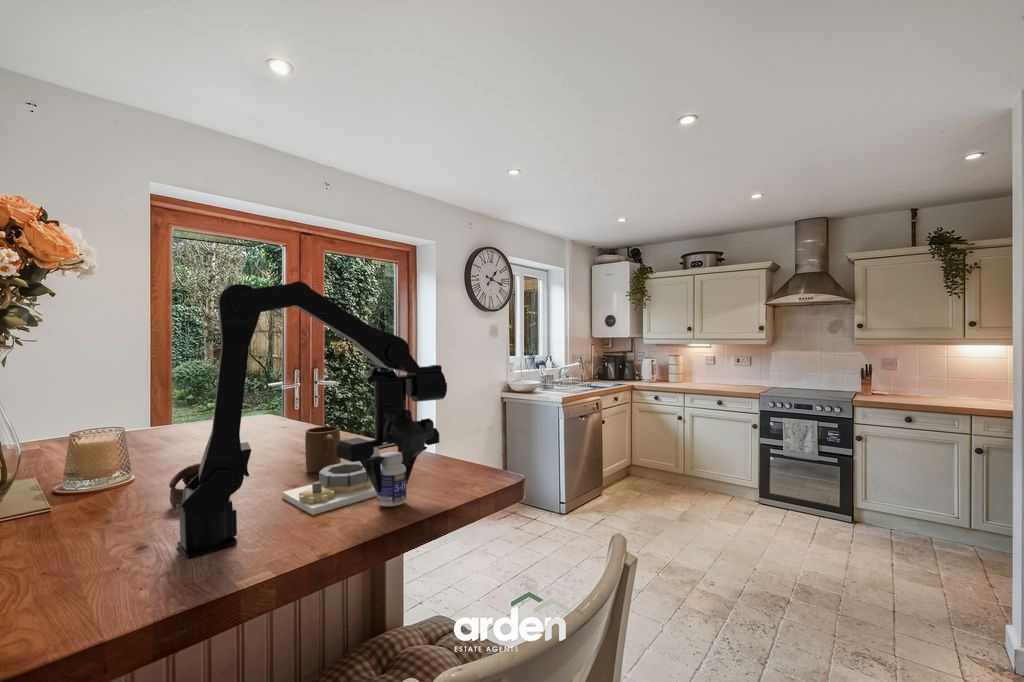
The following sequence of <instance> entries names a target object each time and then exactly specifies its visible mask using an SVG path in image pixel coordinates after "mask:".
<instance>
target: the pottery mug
mask: <svg viewBox="0 0 1024 682" xmlns="http://www.w3.org/2000/svg"><path fill="white" fill-rule="evenodd" d="M200 464H201V462H200V463H195V464H192V465H188V466H187V467H185V468H183V469H181V470H180V471H179V472H177V473H176V474H175V475H174V476H173V477H172V478H171V479H170V482H169V484H168V485H169V486H168V487H169V488H170V491H169V494H170V495H169V502H170V505H171V507H172V508H173V509H174V510H175V509H177V505H182V500H183V489H184V488H176V487H177V485H178V484H179V482H180V481H182V482H183V484H184V485H185V486H186V485H187V484H188V483H189V482H190V481H191V480H192V479H193V478H194V477H195V476H196V475H197V474H198V473H199V467H200Z"/></svg>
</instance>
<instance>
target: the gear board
mask: <svg viewBox="0 0 1024 682" xmlns="http://www.w3.org/2000/svg"><path fill="white" fill-rule="evenodd" d="M375 497H377V492H376V491H375V489H374V487H373V485H372V482H371V480H370V478H369V476H368V474H367V472H366V470H365V468H364V467H363V465H362V464H361V462H360V461H357V462H350V461H347V462H346V461H345V462H341V463H339V464H335V465H331V466H327V467H324V468H323V469H322V470H321V471H320V472H319V473H318V481H314V482H312V484H308V485H305V486H300V487H296V488H292V489H288V490H286V491H281V499H283V500H285V501H287V502H289V503H290V504H292V505H294V506H296V507H297V508H298V509H301V510H303V511H305V512H306V513H307V514H310V515H312V516H315V515H317V514H321V513H325V512H328V511H331V510H334V509H337V508H342V507H345V506H348V505H351V504H355V503H358V502H362V501H364V500H369V499H371V498H375Z"/></svg>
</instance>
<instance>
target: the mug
mask: <svg viewBox="0 0 1024 682" xmlns="http://www.w3.org/2000/svg"><path fill="white" fill-rule="evenodd" d="M340 433H341V431H340V427H338V426H317V427H313V428H309V429H307V430H305V439H304V441H305V469H306V471H307V473H310V474H319V472H320V471H321V470H322V469H323V468H324V467H327V466H331V465H335V464H339V463H342V462H341V461H342V460H341V459H342V458H339V457H337V449H336V447H337V446H338V444H339V442H340V441H341V434H340Z"/></svg>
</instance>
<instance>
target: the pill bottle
mask: <svg viewBox="0 0 1024 682" xmlns="http://www.w3.org/2000/svg"><path fill="white" fill-rule="evenodd" d="M379 456H381V457H384V460H383V461H382V463H381V492H380V493H378V492H377V496H376V503H377V504H378V505H379V506H381V507H396V506H401V505H403V504H404V503H406V502H407V501H406V500H407V485H406V467H405V466H404V465H403V464H401V462H402V460H403V456H402V453H400V452H398V451H389V452H387V451H386V452H384V453H383V452H382V453H381V454H379Z"/></svg>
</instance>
